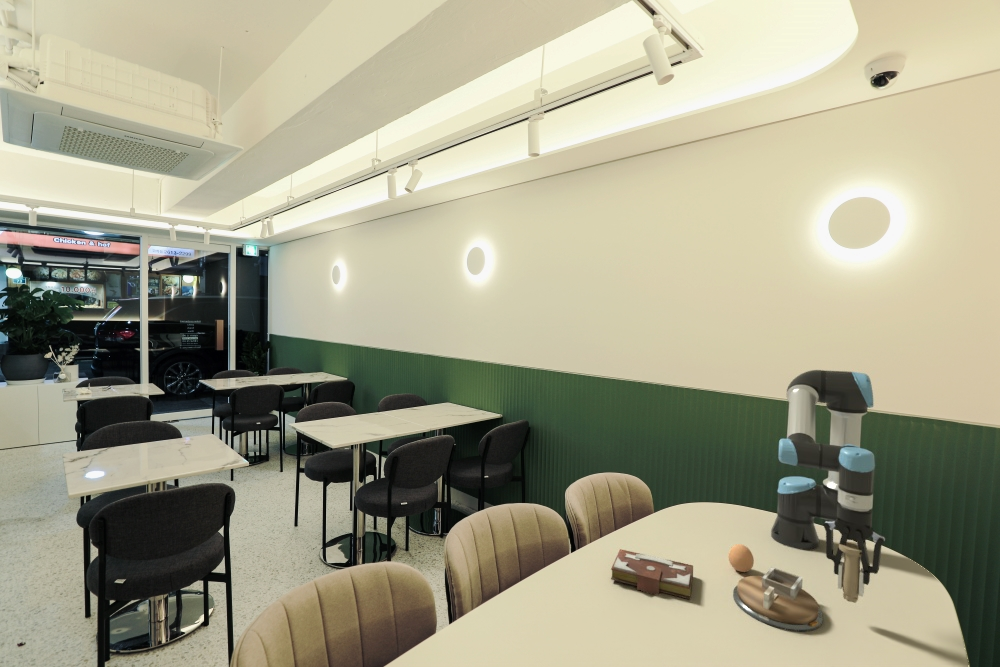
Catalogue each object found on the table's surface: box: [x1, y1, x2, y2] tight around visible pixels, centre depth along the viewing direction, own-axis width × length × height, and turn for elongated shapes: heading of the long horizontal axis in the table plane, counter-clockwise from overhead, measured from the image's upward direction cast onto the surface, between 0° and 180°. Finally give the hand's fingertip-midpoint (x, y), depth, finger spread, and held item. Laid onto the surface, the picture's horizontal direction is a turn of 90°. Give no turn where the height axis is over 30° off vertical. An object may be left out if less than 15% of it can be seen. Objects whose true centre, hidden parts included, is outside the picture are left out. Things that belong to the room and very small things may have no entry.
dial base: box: [732, 585, 824, 633], centre depth 135 cm, size 22×22×2 cm
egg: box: [728, 543, 755, 573], centre depth 154 cm, size 7×7×8 cm
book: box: [610, 548, 694, 600], centre depth 148 cm, size 23×16×5 cm
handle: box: [838, 541, 868, 604], centre depth 128 cm, size 5×6×15 cm
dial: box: [736, 566, 820, 624], centre depth 135 cm, size 20×20×6 cm
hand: (850, 590), depth 128 cm, fingers closed on handle, 4 cm apart
